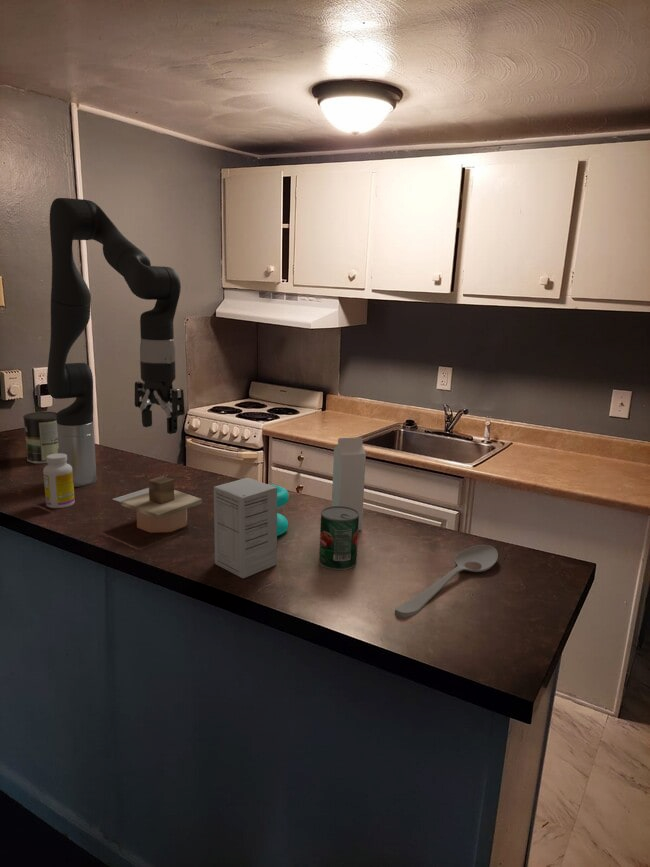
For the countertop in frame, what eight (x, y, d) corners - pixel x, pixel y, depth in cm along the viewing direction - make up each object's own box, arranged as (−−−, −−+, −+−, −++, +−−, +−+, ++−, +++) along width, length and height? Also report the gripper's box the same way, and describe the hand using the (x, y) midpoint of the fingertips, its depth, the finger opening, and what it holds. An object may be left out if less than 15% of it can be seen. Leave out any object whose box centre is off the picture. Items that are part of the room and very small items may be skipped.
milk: (361, 530, 142) (367, 440, 136) (337, 532, 140) (342, 441, 135) (353, 520, 147) (358, 434, 142) (330, 522, 146) (334, 434, 140)
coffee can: (23, 464, 181) (19, 419, 178) (31, 455, 191) (27, 411, 187) (60, 463, 183) (56, 418, 180) (65, 454, 193) (62, 411, 190)
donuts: (238, 486, 139) (277, 480, 144) (238, 526, 141) (276, 519, 146) (256, 500, 131) (296, 493, 136) (256, 542, 133) (295, 534, 138)
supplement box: (278, 565, 123) (279, 487, 119) (243, 580, 116) (243, 498, 112) (248, 550, 129) (248, 476, 125) (213, 563, 122) (212, 485, 118)
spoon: (473, 550, 133) (473, 539, 133) (506, 561, 128) (507, 550, 128) (379, 616, 108) (380, 603, 107) (416, 632, 103) (417, 619, 102)
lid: (120, 505, 138) (119, 480, 137) (165, 490, 148) (164, 467, 147) (158, 519, 131) (157, 493, 129) (202, 503, 141) (201, 478, 140)
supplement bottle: (79, 501, 153) (76, 453, 150) (66, 510, 147) (62, 460, 144) (55, 499, 154) (51, 451, 151) (40, 508, 147) (36, 458, 144)
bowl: (128, 525, 139) (127, 505, 138) (165, 511, 148) (164, 492, 147) (159, 537, 133) (159, 516, 132) (196, 523, 142) (196, 503, 141)
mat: (112, 500, 155) (111, 499, 154) (158, 486, 166) (158, 484, 166) (150, 514, 146) (150, 513, 146) (195, 498, 158) (195, 496, 158)
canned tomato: (311, 559, 126) (313, 510, 123) (340, 550, 130) (342, 503, 128) (334, 574, 120) (336, 523, 117) (364, 564, 124) (367, 514, 122)
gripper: (123, 357, 134) (126, 427, 138) (165, 364, 126) (167, 438, 130) (150, 354, 140) (152, 421, 144) (192, 361, 132) (193, 432, 136)
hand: (159, 429), depth 137 cm, fingers open, 8 cm apart
